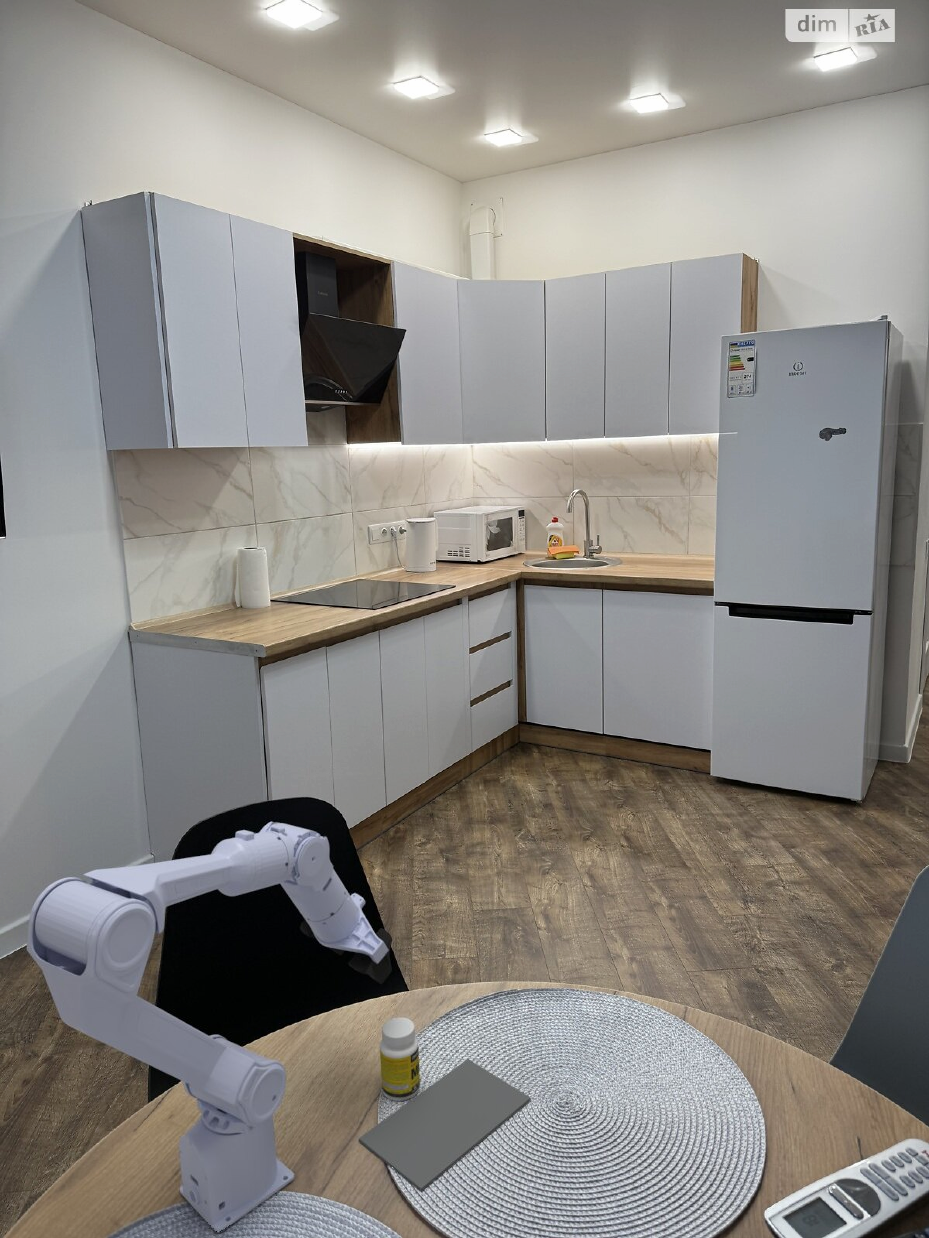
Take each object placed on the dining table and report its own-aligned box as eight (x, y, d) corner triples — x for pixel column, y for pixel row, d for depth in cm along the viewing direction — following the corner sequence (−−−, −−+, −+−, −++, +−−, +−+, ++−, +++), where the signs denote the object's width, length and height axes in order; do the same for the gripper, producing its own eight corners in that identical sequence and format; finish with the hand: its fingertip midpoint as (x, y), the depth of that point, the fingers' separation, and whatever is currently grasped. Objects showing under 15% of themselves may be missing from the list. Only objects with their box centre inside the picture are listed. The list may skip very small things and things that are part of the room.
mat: (421, 1191, 94) (421, 1188, 94) (358, 1141, 101) (358, 1138, 101) (530, 1100, 106) (530, 1097, 106) (468, 1061, 114) (468, 1058, 114)
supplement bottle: (418, 1102, 107) (416, 1039, 105) (379, 1102, 107) (376, 1040, 105) (421, 1074, 111) (418, 1014, 110) (384, 1075, 112) (380, 1014, 110)
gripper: (387, 899, 101) (425, 962, 109) (308, 850, 111) (348, 912, 118) (345, 948, 98) (387, 1010, 106) (267, 894, 107) (311, 955, 115)
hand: (364, 961), depth 112 cm, fingers open, 7 cm apart
